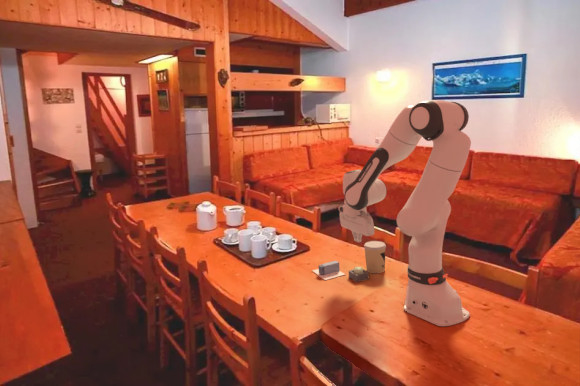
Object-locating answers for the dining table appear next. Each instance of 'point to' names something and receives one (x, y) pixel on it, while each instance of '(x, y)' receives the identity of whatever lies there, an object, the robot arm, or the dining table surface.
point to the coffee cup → (375, 256)
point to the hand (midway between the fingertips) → (357, 241)
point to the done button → (358, 270)
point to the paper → (329, 276)
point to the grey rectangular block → (329, 267)
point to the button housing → (358, 276)
